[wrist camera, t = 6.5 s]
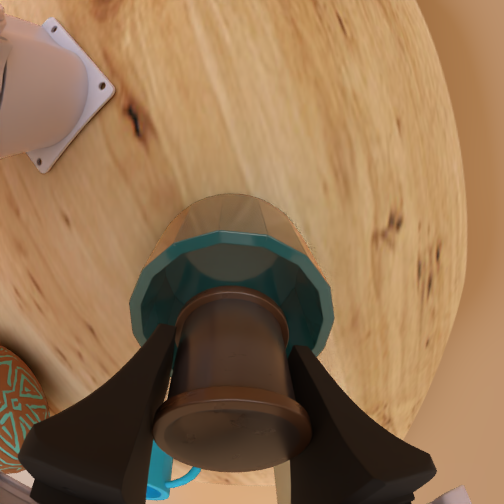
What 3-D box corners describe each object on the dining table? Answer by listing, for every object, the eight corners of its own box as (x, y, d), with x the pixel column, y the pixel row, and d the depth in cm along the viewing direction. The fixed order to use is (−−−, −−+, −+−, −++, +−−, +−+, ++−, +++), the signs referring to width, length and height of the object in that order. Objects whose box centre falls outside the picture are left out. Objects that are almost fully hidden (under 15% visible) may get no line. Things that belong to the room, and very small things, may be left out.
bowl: (131, 255, 20) (93, 313, 13) (244, 161, 18) (250, 181, 11) (223, 343, 23) (221, 412, 17) (330, 274, 21) (364, 335, 15)
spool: (157, 302, 12) (119, 410, 7) (271, 270, 11) (297, 381, 6) (201, 378, 14) (193, 477, 9) (297, 356, 13) (321, 457, 8)
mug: (129, 447, 31) (119, 495, 24) (100, 414, 28) (84, 469, 20) (212, 448, 31) (211, 503, 24) (193, 416, 28) (189, 481, 20)
